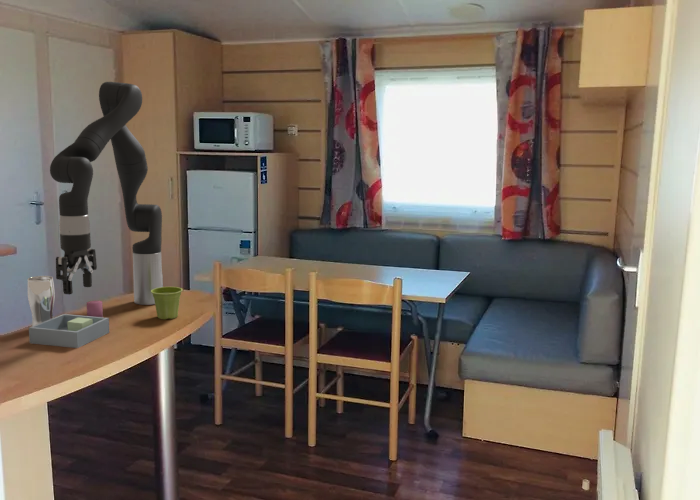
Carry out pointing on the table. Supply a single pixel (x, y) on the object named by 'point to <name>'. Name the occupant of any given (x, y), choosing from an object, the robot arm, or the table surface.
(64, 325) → the tub
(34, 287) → the beer glass
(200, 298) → the table surface
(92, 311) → the plum cylinder
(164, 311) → the plant pot
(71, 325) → the sage block
